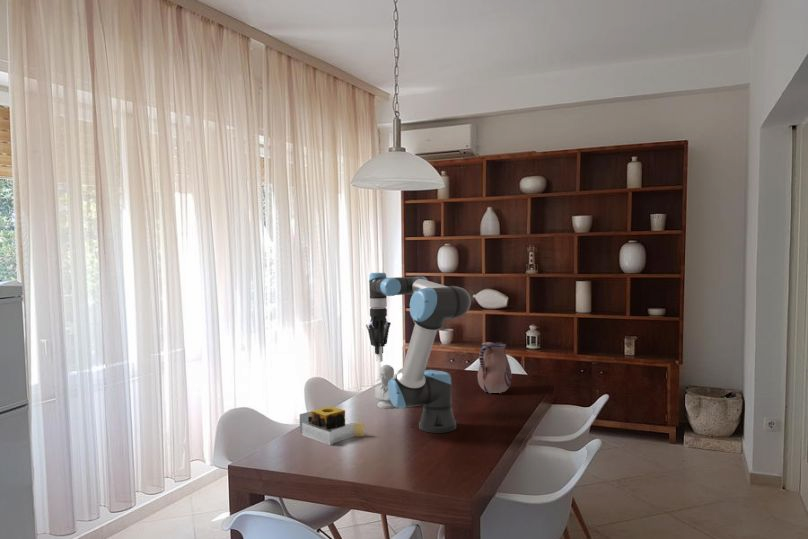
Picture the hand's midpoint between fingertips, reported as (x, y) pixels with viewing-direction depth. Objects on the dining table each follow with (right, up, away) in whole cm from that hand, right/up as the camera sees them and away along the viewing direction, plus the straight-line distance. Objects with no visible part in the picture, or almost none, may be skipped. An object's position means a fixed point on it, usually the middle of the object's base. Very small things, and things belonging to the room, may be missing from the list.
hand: (379, 361), depth 246 cm
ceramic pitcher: (+57, -23, +39) cm, 73 cm away
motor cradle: (-19, -25, -24) cm, 39 cm away
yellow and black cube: (-19, -26, -25) cm, 41 cm away
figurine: (+3, -24, +18) cm, 30 cm away
